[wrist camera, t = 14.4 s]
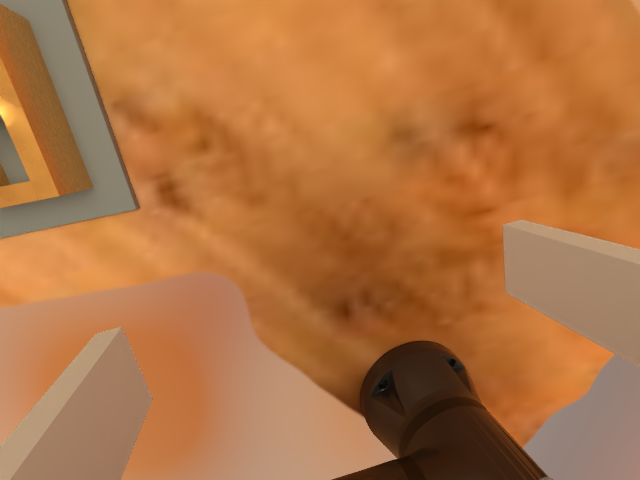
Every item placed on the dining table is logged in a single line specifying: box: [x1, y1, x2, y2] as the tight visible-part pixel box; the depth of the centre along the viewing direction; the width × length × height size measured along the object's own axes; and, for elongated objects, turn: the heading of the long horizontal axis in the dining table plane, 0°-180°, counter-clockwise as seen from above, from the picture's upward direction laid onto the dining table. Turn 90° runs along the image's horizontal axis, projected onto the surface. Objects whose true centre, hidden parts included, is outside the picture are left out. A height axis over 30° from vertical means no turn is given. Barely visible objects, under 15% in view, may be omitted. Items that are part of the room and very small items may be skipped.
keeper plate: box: [0, 0, 139, 238], centre depth 30 cm, size 20×14×1 cm
